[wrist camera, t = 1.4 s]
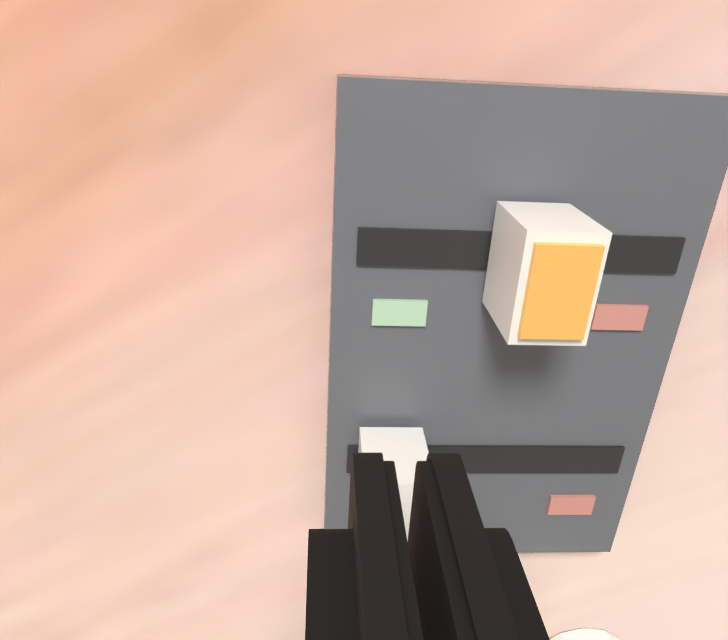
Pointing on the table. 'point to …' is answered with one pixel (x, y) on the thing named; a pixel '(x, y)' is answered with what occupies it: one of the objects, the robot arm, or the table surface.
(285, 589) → the table surface
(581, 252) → the block
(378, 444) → the block
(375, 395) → the breaker panel
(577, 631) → the white cup
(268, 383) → the table surface
